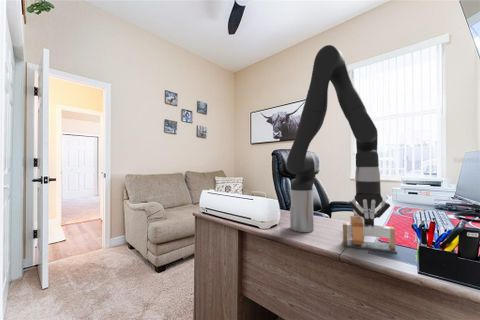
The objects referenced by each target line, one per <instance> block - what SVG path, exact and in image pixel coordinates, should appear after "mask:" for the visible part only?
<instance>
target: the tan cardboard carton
mask: <svg viewBox="0 0 480 320" xmlns="http://www.w3.org/2000/svg"><path fill="white" fill-rule="evenodd" d="M349 217H350V223H352V234H350V235H351V240H353V243H354V244H362V245H364V242H365V240H364V239H365V238H364V237H365V236H364V231H363V222H362V220H361V218H360V217H359V216H354V215H350V216H349Z"/></svg>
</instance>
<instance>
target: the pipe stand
mask: <svg viewBox="0 0 480 320" xmlns="http://www.w3.org/2000/svg"><path fill="white" fill-rule="evenodd" d="M363 231H364V237H373V238H384V239H385V238H386V239H387V240H388V243H380V242H373V241H372V242H371V241H364V245H362V244H354V243H353V240H352V239H348V235H351V234H352V223H351V222H342V245H343V247H345V248H350V249H351V248H352V249H359V250H366V251H367V250H368V251H375V252H384V253H391V254H398V251H397V249H396V229H395V228H394V227H393V226H389V225H388V226H387V225H375V224H374V225H366V224H363Z"/></svg>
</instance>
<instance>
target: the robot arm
mask: <svg viewBox="0 0 480 320" xmlns="http://www.w3.org/2000/svg"><path fill="white" fill-rule="evenodd" d="M311 71H312V72H311V78H310V83H309V86H308V87H309V88H308V90H307V93H306V98H305V101H304V105H303V108H302V111H301V114H300V115H301V116H300V119H299V122H298V126H297V131H296V132H295V137H294V139H293V142H292V146H291V149H290V150H289V153H288V156H287V159H286V169H287V171H288V173H290V174H293V175H295V179H294V180H293V181H291V183H290V207H289V215H290V217H289V219H290V224H289V225H290V231H295V232H300V233H312V232H314V226H315V225H314V198H313V197H314V194H313V186H314V184H315V167H316V166H315V160H314V158H313V156H312V155H311V154H309V153H308V151H309V150H308V149H309V147H310V144H311V142H312V141H313V139H314V138H315V137H316V135H317V134H318V133H319V132H320V129H322V126H323V124H324V122H325V118H326V116H327V115H326V114H327V111H328V98H329V97H328V95H329V94H328V92H329V86H330V82H331V84H332V86H333V87H334V90H335V93H336V98H337V101H338V105H339V106H340V109H341V111H342V112H343V115H344V117H345V119H346V120H347V122H348V125H349V127H350V130H351V132H352V135H353V137H354V138H355V146H356V147H355V148H356V153H355V171H354V173H355V177H354V179H355V195H354V199H351V200H349V201H348V204H349V206H350V207H351V209H354V210H355V211H356V213H357V214H358V215H359V216H361V217H363V218H364V224H366V225H375V219H376V218H377V219H379V218H381V217H382V215H383V214H385V212H386V211H387V210H388V209H389V208H390V207H391V205H390V203H388V202H386V201H385V200H384V199H383V196H382V194H381V193H382V191H381V173H380V167H379V165H380V163H379V161H380V159H379V154H378V139H379V138H378V129H377V127H376V125H375V122H374V121H373V119H372V118H371V116H370V115H369V113H368V112H367V108H366V105H365V104H364V102H363V100H362V98H361V96H360V94H359V93H358V91H357V88H355V85H354V83H353V82H352V80H351V77H350V75H349V74H350V73H349V71H348V68H347V65H346V62H345V57H344V55H343V53H342V52H341V51H340V50H339V49H338V48H337V47H336V46H334V45H332V44H327V45H324V46H323V47H321V48H320V49H319V50H318V51H317V53H316V55H315V58H314V60H313V67H312V70H311ZM356 201H357V203H358V204H359V205H360V206H361V207H362V208H363V213H362V212H361V211H360V210H359V209H358V208H357V207H356V205H357V204H356ZM379 205H380V208H378V207H379ZM377 208H378V210H377V211H376V209H377Z"/></svg>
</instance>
